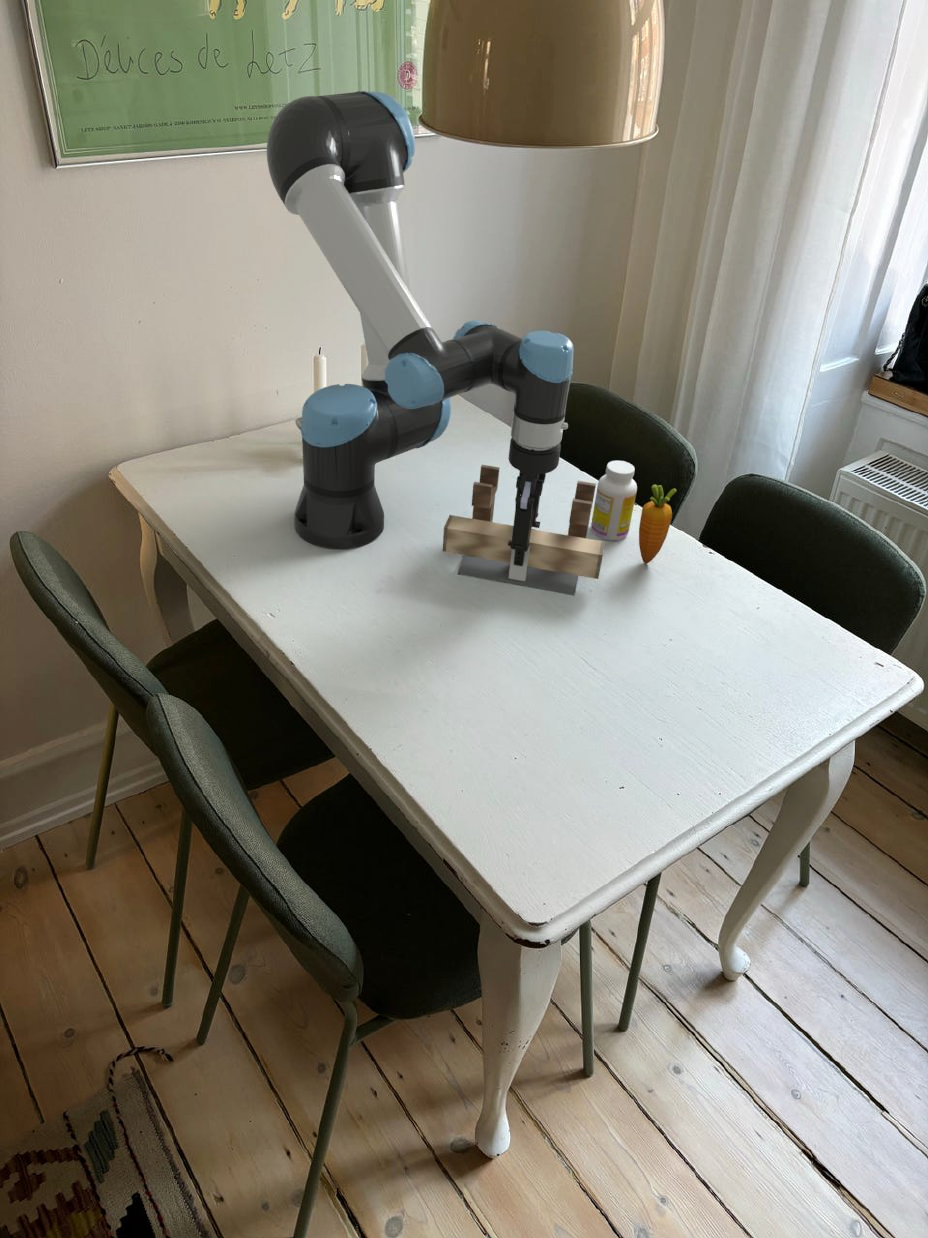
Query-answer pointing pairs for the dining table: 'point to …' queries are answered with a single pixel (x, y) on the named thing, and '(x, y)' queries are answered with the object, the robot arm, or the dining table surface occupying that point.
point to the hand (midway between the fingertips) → (519, 570)
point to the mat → (533, 580)
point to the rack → (488, 487)
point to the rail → (544, 546)
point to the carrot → (654, 524)
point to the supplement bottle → (614, 501)
